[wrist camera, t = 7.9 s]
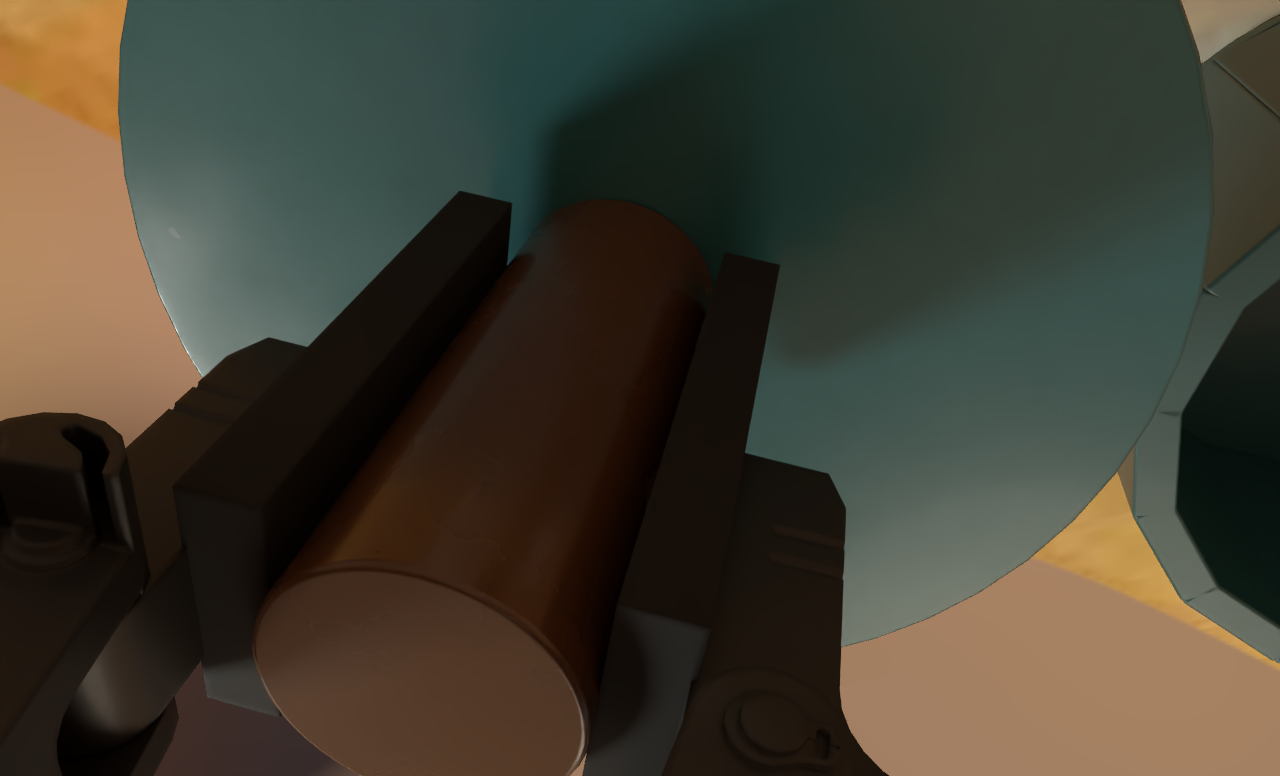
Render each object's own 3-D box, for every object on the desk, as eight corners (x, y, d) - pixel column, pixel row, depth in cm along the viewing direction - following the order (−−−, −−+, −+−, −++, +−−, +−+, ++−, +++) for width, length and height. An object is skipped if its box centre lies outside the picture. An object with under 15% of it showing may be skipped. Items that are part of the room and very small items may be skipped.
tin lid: (84, -485, 11) (-1264, -910, 4) (1468, -238, 10) (2940, -246, 3) (216, 504, 20) (-142, 907, 13) (957, 701, 19) (1008, 1266, 12)
